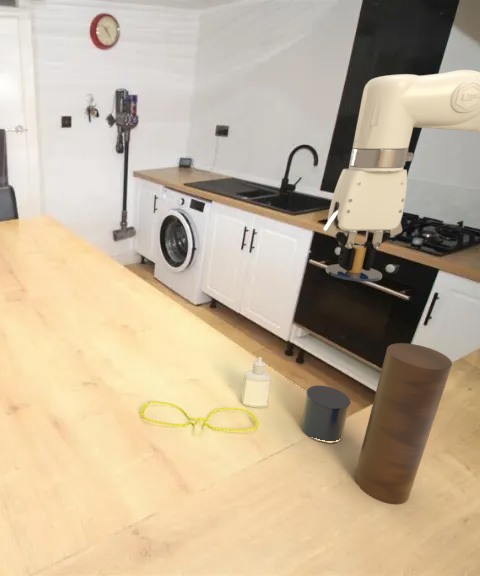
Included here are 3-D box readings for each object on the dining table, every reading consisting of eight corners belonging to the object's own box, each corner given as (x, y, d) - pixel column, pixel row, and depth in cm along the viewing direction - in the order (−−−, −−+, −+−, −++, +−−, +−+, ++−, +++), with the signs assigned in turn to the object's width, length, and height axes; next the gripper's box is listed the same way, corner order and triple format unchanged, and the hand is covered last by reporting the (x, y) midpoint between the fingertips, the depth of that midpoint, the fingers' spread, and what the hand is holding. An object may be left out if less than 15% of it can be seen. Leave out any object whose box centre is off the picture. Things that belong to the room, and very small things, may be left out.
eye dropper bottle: (263, 413, 91) (269, 366, 87) (238, 403, 94) (243, 357, 90) (269, 403, 94) (276, 357, 90) (245, 394, 98) (251, 350, 93)
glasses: (254, 413, 91) (256, 394, 89) (263, 443, 82) (266, 424, 80) (141, 403, 95) (142, 385, 94) (138, 431, 86) (139, 412, 84)
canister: (331, 419, 89) (338, 385, 86) (350, 444, 81) (358, 408, 78) (294, 418, 89) (300, 385, 86) (309, 443, 82) (317, 408, 79)
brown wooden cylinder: (390, 468, 75) (427, 343, 66) (420, 505, 68) (466, 369, 59) (345, 467, 76) (376, 342, 67) (370, 503, 68) (408, 369, 59)
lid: (364, 266, 77) (370, 240, 75) (392, 281, 69) (400, 253, 67) (317, 266, 77) (322, 240, 76) (340, 281, 69) (345, 253, 68)
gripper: (413, 158, 69) (388, 262, 76) (315, 160, 70) (299, 262, 77) (446, 161, 62) (415, 275, 69) (337, 162, 63) (317, 275, 70)
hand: (354, 267), depth 73 cm, fingers closed on lid, 2 cm apart
